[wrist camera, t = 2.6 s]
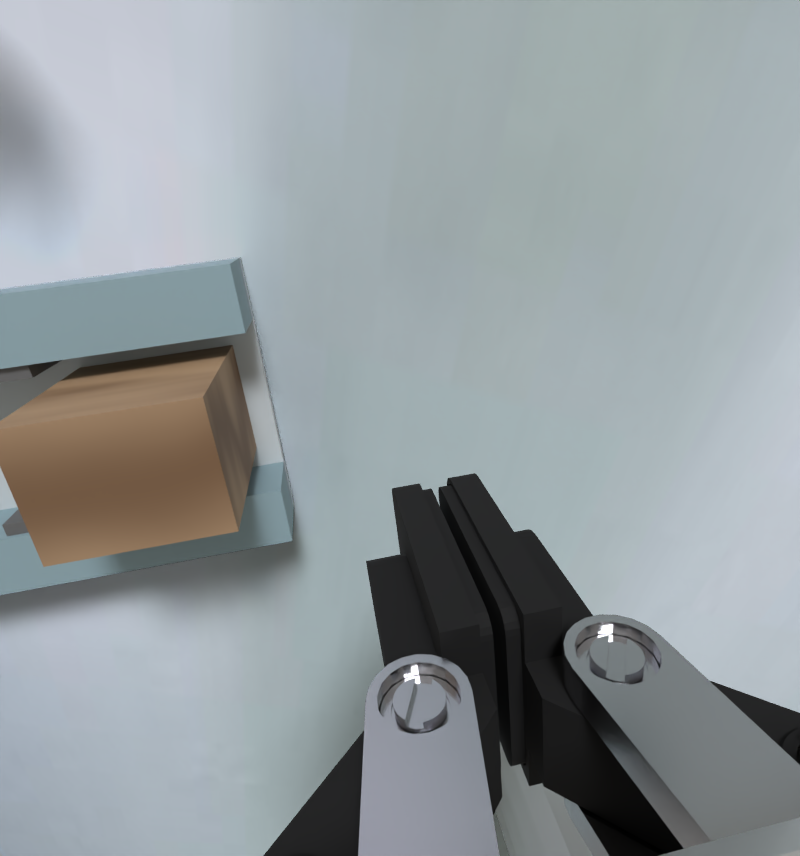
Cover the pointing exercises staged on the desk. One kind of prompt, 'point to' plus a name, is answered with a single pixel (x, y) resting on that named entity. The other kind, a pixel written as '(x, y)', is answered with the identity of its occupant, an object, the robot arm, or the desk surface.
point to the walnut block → (131, 455)
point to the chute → (128, 340)
